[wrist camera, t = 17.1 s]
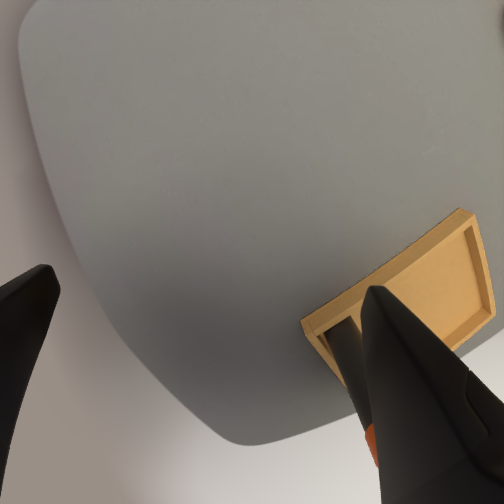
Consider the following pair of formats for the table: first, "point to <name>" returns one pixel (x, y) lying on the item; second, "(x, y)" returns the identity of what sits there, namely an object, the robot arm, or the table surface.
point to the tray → (423, 287)
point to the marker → (353, 372)
